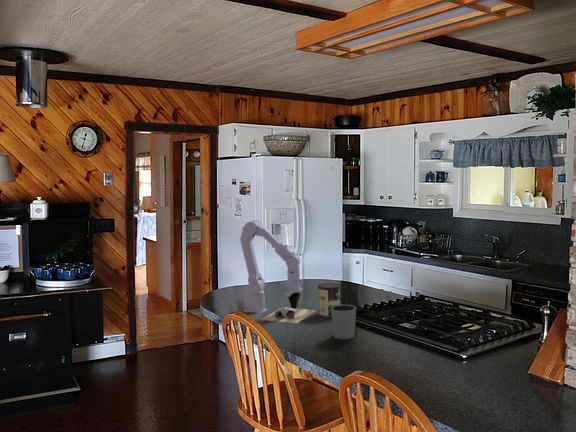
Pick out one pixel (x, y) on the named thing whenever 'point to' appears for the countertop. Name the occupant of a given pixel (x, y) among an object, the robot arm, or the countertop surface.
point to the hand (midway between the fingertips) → (294, 308)
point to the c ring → (290, 314)
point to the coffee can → (328, 298)
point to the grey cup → (343, 321)
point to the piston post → (284, 312)
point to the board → (299, 316)
